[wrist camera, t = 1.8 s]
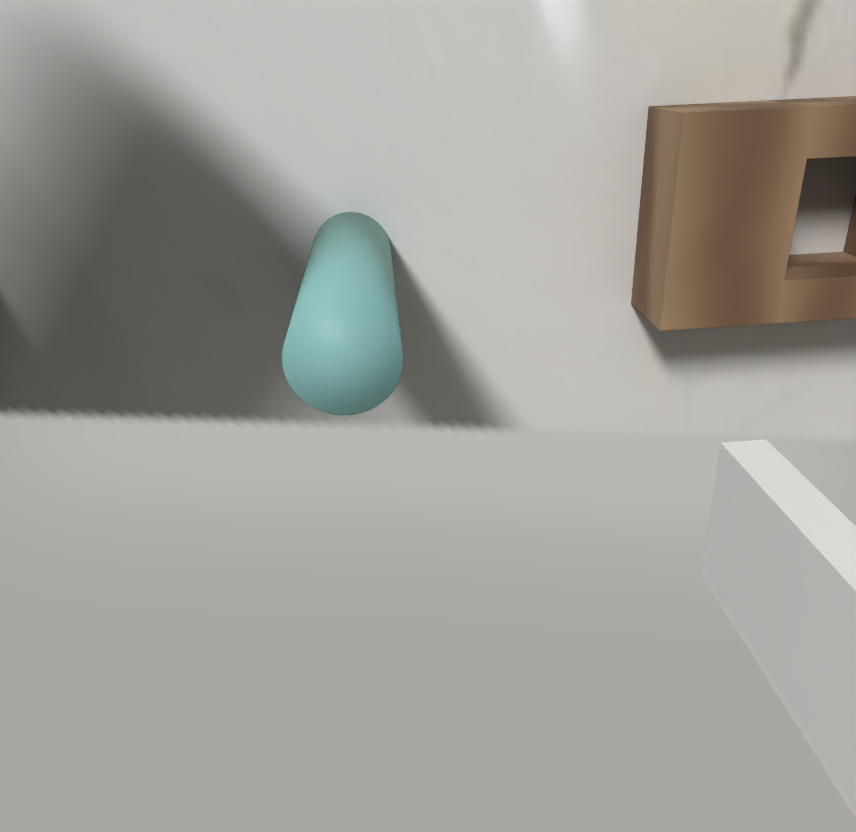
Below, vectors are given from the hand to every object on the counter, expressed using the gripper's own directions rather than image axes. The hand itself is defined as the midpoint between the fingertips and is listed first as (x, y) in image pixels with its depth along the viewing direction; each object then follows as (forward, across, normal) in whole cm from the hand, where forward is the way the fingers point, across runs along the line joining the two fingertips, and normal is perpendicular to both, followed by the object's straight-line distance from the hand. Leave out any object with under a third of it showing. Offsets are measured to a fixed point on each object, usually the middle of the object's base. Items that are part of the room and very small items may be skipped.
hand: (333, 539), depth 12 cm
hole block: (+20, +19, +1) cm, 27 cm away
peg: (+20, 0, 0) cm, 20 cm away
